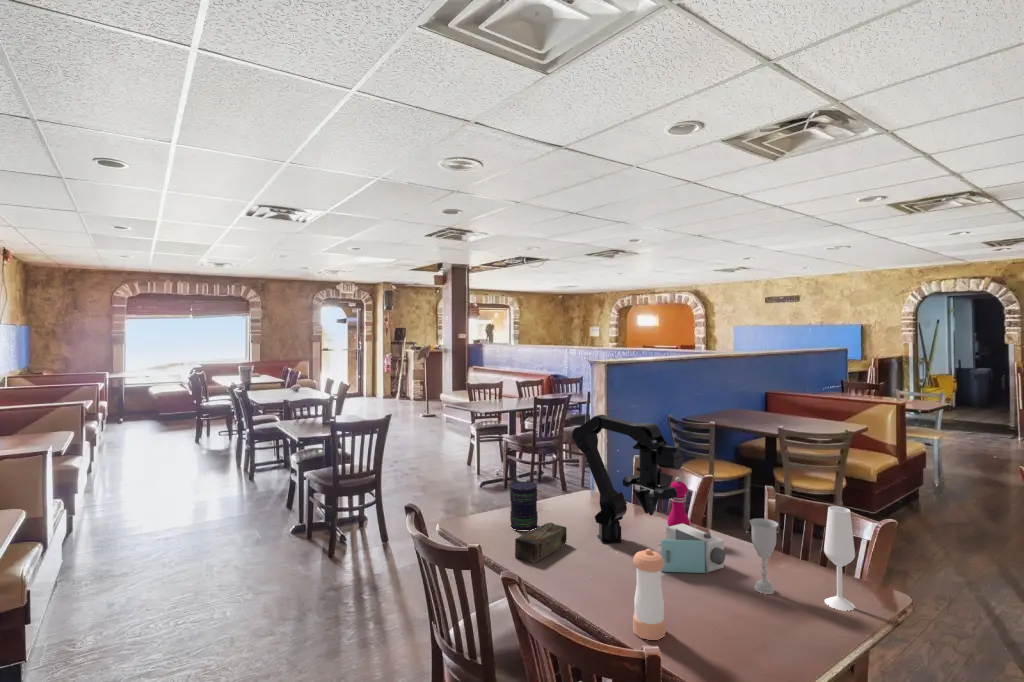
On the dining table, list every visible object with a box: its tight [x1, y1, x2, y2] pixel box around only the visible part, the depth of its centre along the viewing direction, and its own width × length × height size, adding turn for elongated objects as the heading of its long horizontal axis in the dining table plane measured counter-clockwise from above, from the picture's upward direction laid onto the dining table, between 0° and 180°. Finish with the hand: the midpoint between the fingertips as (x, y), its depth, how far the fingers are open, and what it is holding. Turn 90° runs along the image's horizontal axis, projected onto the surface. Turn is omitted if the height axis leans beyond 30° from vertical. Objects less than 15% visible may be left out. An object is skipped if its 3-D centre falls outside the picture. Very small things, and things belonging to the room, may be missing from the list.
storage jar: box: [509, 481, 539, 530], centre depth 193 cm, size 10×10×15 cm
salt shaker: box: [632, 548, 667, 639], centre depth 124 cm, size 7×7×19 cm
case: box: [665, 523, 726, 574], centre depth 162 cm, size 18×7×9 cm, turn 28°
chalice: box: [749, 517, 779, 595], centre depth 143 cm, size 7×7×18 cm
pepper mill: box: [667, 476, 691, 527], centre depth 182 cm, size 7×7×20 cm
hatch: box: [660, 538, 706, 574], centre depth 154 cm, size 12×2×9 cm, turn 83°
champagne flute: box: [823, 505, 856, 612], centre depth 135 cm, size 7×7×24 cm
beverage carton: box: [514, 521, 568, 564], centre depth 171 cm, size 8×19×7 cm, turn 143°
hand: (649, 514), depth 169 cm, fingers closed
